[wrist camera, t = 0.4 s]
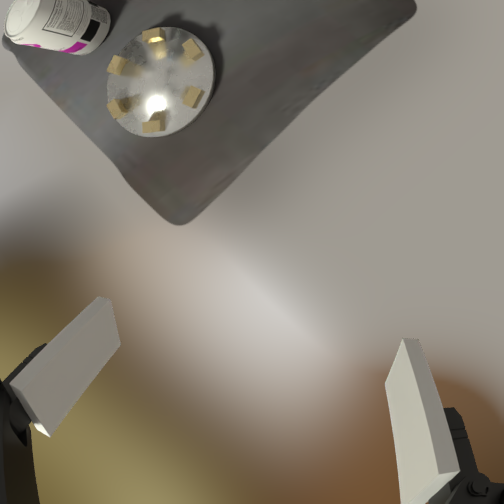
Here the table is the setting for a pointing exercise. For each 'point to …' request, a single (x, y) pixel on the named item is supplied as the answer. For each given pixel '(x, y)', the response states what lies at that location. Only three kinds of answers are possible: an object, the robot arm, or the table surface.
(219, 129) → the table surface
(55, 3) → the supplement can
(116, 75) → the ring plate
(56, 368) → the robot arm
